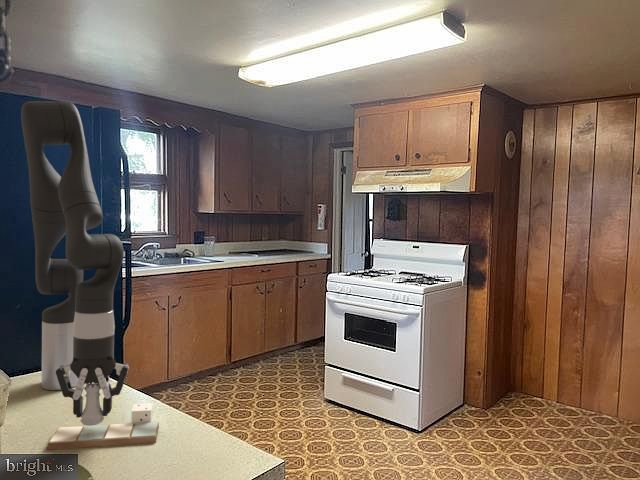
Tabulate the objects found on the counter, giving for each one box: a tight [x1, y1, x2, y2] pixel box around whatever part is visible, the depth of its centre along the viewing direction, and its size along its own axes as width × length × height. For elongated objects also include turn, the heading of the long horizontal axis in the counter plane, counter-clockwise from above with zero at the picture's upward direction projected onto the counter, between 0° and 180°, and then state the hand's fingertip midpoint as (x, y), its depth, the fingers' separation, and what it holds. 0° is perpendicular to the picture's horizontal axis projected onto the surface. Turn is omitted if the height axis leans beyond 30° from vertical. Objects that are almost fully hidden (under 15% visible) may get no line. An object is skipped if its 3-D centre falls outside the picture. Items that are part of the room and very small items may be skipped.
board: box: [47, 421, 160, 450], centre depth 101 cm, size 7×20×1 cm, turn 103°
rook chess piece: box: [80, 382, 105, 426], centre depth 100 cm, size 4×4×8 cm
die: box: [130, 402, 154, 424], centre depth 108 cm, size 4×4×4 cm
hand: (92, 414), depth 100 cm, fingers closed on rook chess piece, 4 cm apart
